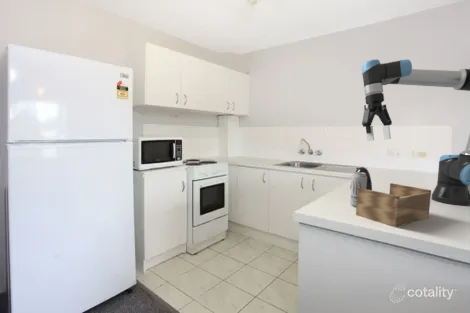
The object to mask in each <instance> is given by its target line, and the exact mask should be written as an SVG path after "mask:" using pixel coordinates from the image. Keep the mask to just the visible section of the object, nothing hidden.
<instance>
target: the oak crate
mask: <svg viewBox="0 0 470 313" xmlns="http://www.w3.org/2000/svg"><path fill="white" fill-rule="evenodd" d="M431 197H432V190H431V189H426V188H420V187H414V186H409V185H402V184H397V183H393V182H392V183H391V182H390V184H389V193H386V192H382V191H377V190H376V191H375V190H373V189H372V190H367V189H363V188H358V193H357V207H355V208H356V210H355V216H359V217H362V218H365V219H368V220H371V221H374V222H378V223H381V224H383V225H387V226H391V227H394V228H398V227H401V226H405V225H407V224H411V223H414V222H417V221H421V220H424V219H427V218H429V217H430V207H431Z"/></svg>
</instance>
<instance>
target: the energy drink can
mask: <svg viewBox="0 0 470 313" xmlns="http://www.w3.org/2000/svg"><path fill="white" fill-rule="evenodd" d="M351 181H352V184H351V183H350V186H351V188H350V202H349V204H350V206H351V207H354V208H356V207H357V193H358V188H363V189H366V186H367V176H366V173H362V172H356V171H354V172H353V174H352V175H351Z"/></svg>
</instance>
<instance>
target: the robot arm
mask: <svg viewBox="0 0 470 313" xmlns="http://www.w3.org/2000/svg"><path fill="white" fill-rule="evenodd" d="M361 70H362V71H361V75H362V80H363V88H364V96H365V98H364V99H365V104H364V106H363V108H364V109H363V116H362V122H361V125H362V127H363V128H365V132H366V139H367V142H369V141H375V137H374V135H375V134H374V129H373V128H374V127H373V125H372V124H373V121H374V119H375V116H377V117H378V118H379V120H380V121H381V124H382V131H383V139H384V140H391V129H390V128H391V127H390V126H391V125H392V124H393V122H392V119H391V117H390V114H389V112H388V109H387V104H382V103H383V102H384V101H385V95H384V87H383V86H387V85H404V86H418V87H419V86H421V87H435V88H436V87H438V88H453V90H456V91H466V92H467V91H468V92H470V68H461V69H459V70H445V69H444V70H443V69H442V70H441V69H422V68H421V69H417V68H413V65H412V62H411V60H410V59H400V60H396V61H390V62H385V63H381V60H379V59H377V58H376V59H370V60H366V61H365V62H363V64H362V66H361ZM466 142H467V143H466V146H465V149H464V150H463V151H461V152H459V154H443V155H441V156H440V157H439V161H438V171H437V172H438V173H437V182H436V186H435V187H434V190H433V191H432V192H431V198H430V200H432V201H436V202H439V203H443V204H448V205H457V206H470V190H469V187H470V134H469V136H468V139H467V141H466Z"/></svg>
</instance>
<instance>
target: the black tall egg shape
mask: <svg viewBox="0 0 470 313" xmlns="http://www.w3.org/2000/svg"><path fill="white" fill-rule="evenodd" d="M355 172H362V173H366V176H367V186H366V189H367V190H372V191H373V182H372V177H371V174H370V172H369V170H368V169H367V168H366V167H363V166H362V167H358V166H357V167H356V170H355ZM351 184H352V180H351V183H350V185H349V186H350V187H349V188H350V189H351Z"/></svg>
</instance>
